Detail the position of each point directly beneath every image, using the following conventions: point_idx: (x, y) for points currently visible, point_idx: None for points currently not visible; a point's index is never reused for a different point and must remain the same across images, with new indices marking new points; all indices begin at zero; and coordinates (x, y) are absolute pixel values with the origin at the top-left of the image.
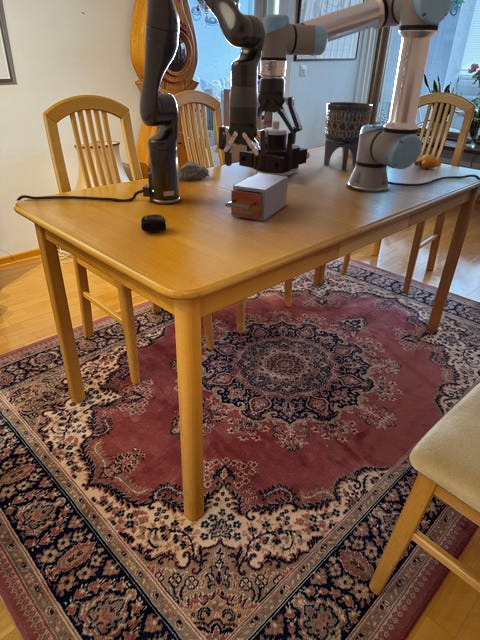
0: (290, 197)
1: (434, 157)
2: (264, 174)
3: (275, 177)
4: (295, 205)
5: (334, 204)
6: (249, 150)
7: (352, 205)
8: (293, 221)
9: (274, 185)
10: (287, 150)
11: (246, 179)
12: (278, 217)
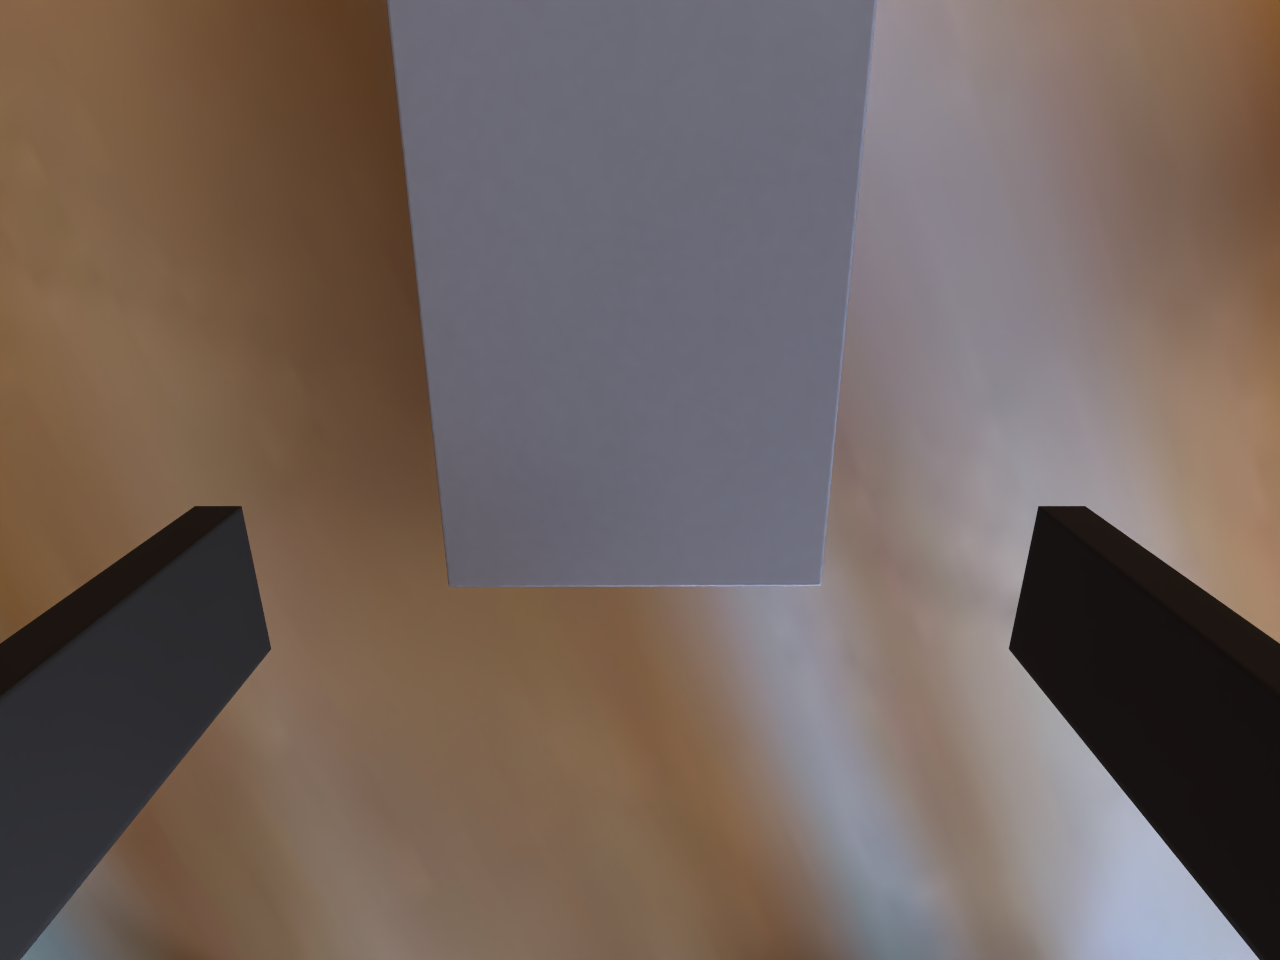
0: (565, 681)
1: None
2: (729, 551)
3: (554, 480)
4: (435, 502)
5: None
6: (1040, 539)
7: None
8: (223, 31)
9: (403, 123)
10: (166, 548)
11: (844, 185)
12: None
